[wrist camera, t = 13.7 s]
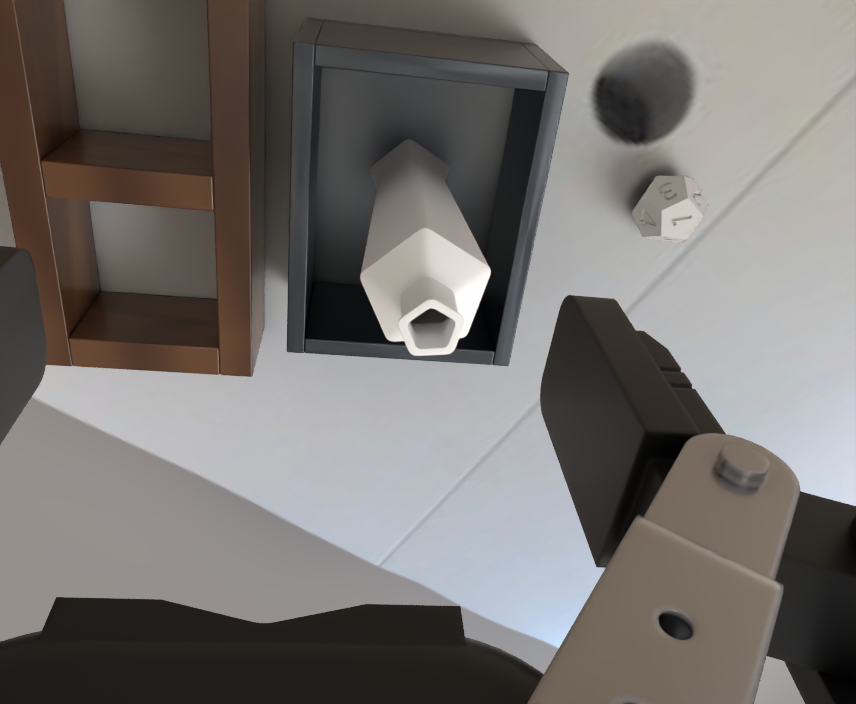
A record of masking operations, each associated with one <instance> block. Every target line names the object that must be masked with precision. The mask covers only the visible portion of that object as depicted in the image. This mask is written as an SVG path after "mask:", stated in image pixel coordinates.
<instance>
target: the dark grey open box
mask: <svg viewBox="0 0 856 704" xmlns="http://www.w3.org/2000/svg"><path fill="white" fill-rule="evenodd" d="M568 75H569V73H568V72H567V71H566V70H565V69H564V68H563V67H561V66H560V65H559V64H558V63H557V62H556V61H555V60H553V59H552V58H551V57H550V56H549V55H548V54H547V53H545V52H544V51H543V50H542V49H541V48H540V47H539V46H537V45H536V44H530V43H521V42H513V41H504V40H496V39H487V38H479V37H470V36H461V35H453V34H444V33H436V32H427V31H419V30H410V29H402V28H393V27H385V26H376V25H367V24H359V23H350V22H342V21H333V20H325V19H316V18H306V20H305V21H304V23H303V25H302V27H301V29H300V31H299V33H298V34H297V36H296V38H295V40H294V42H293V73H292V122H291V171H290V219H289V268H288V317H287V352H295V353H304V352H305V353H315V354H330V355H346V356H362V357H378V358H393V359H409V360H425V361H440V362H456V363H472V364H487V365H492V363H493V365H500V366H508V365H509V362H510V357H511V352H512V347H513V342H514V337H515V333H516V328H517V323H518V318H519V313H520V308H521V303H522V299H523V294H524V289H525V284H526V279H527V274H528V269H529V265H530V260H531V255H532V250H533V245H534V240H535V236H536V231H537V226H538V221H539V216H540V211H541V206H542V202H543V197H544V192H545V187H546V182H547V177H548V172H549V168H550V163H551V158H552V153H553V148H554V143H555V138H556V134H557V129H558V124H559V119H560V114H561V109H562V104H563V100H564V95H565V90H566V85H567V80H568ZM407 139H411V140H413V141H415V142H416V143H418V144H419V145H421V146H422V147H424V148H425V149H426V150H428V151H429V152H431V153H432V154H434V155H435V156H437V157H438V158H440V159H441V160H443V161H444V162H446V163H447V164H448V166H449V171H448V174H447V177H446V180H445V182H446V184H447V186H448V188H449V190H450V192H451V194H452V196H453V198H454V200H455V202H456V204H457V206H458V208H459V209H460V211H461V213H462V215H463V217H464V219H465V221H466V223H467V225H468V227H469V229H470V231H471V233H472V235H473V237H474V239H475V240H476V242H477V244H478V246H479V248H480V250H481V252H482V254H483V256H484V258H485V260H486V262H487V264H488V266H489V268H490V270H491V273H490V277H489V280H488V282H487V285H486V288H485V290H484V293H483V296H482V298H481V301H480V303H479V306H478V309H477V311H476V314H475V317H474V319H473V322H472V324H471V327H470V330H469V332H468V334H467V336H465V337H464V338H459V340H458V343H457V346H456V348H455V350H454V351H453V352H452V353H450V354H446V355H427V356H414V355H412V354H410V352H409V351H408V349H407V346H406V344H405V342H404V341H397V342H394V341H389V340H388V339H387V338H386V337H385V335H384V332H383V330H382V328H381V326H380V323H379V321H378V319H377V316H376V314H375V312H374V310H373V307H372V305H371V303H370V301H369V298H368V296H367V294H366V292H365V289H364V287H363V285H362V282H361V279H360V275H361V270H362V265H363V260H364V255H365V249H366V244H367V239H368V234H369V229H370V223H371V218H372V213H373V208H374V203H375V198H376V192H377V188H376V186H375V183H374V181H373V178H372V175H371V172H370V169H371V167H372V166H373V165H374V164H375V163H377V162H378V161H379V160H381V159H382V158H383V157H384V156H386V155H387V154H388V153H389V152H391V151H392V150H393V149H395V148H396V147H397V146H398V145H400V144H401V143H402V142H403V141H405V140H407Z"/></svg>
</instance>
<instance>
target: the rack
mask: <svg viewBox="0 0 856 704" xmlns="http://www.w3.org/2000/svg"><path fill="white" fill-rule="evenodd" d="M207 21H208V49H209V78H210V106H211V134H212V142H208V141H198V140H187V139H177V138H166V137H156V136H145V135H135V134H125V133H114V132H104V131H93V130H83V129H81V130H80V128H79V120H78V112H77V104H76V97H75V89H74V81H73V73H72V65H71V57H70V49H69V42H68V34H67V26H66V18H65V10H64V2H63V0H0V162H1V168H2V173H3V178H4V184H5V189H6V194H7V200H8V205H9V210H10V216H11V221H12V226H13V232H14V237H15V243H16V248H24V249H26V250H27V251H28V252H29V253H30V255H31V257H32V259H33V263H34V267H35V273H36V279H37V285H38V292H39V298H40V304H41V311H42V317H43V323H44V330H45V336H46V343H47V359H46V365H60V366H72V365H73V366H81V367H98V368H114V369H131V370H148V371H165V372H182V373H198V374H215V375H218V374H221V375H232V376H249V377H251V376H252V375H253V371H254V367H255V363H256V359H257V355H258V351H259V347H260V343H261V339H262V335H263V331H264V295H265V0H207ZM89 200H90V201H101V202H113V203H125V204H137V205H148V206H160V207H172V208H184V209H195V210H207V211H213V210H214V219H215V248H216V276H217V300H212V299H198V298H184V297H170V296H156V295H142V294H128V293H114V292H100V285H99V277H98V270H97V262H96V254H95V246H94V238H93V230H92V222H91V215H90V207H89Z"/></svg>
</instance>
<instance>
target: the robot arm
mask: <svg viewBox="0 0 856 704" xmlns="http://www.w3.org/2000/svg"><path fill="white" fill-rule="evenodd" d="M46 359H47V343H46V336H45V330H44V323H43V317H42V311H41V304H40V298H39V292H38V285H37V279H36V273H35V267H34V263H33V259H32V257H31V255H30V253H29V252H28V251H27V250H26V249H24V248H14V247H2V246H0V444H1V443H2V441H3V440H4V438H5V436H6V435H7V433H8V432H9V430H10V429H11V427H12V425H13V424H14V423H15V421H16V420H17V418H18V417H19V415H20V413H21V412H22V410H23V409H24V407H25V406H26V404H27V403H28V401H29V400H30V398H31V397H32V395H33V394H34V392H35V390H36V389H37V387H38V386H39V384H40V382H41V380H42V378H43V375H44V371H45V366H46ZM540 402H541V411H542V415H543V418H544V421H545V424H546V427H547V430H548V432H549V435H550V438H551V441H552V444H553V446H554V449H555V452H556V455H557V458H558V460H559V463H560V466H561V469H562V472H563V474H564V477H565V480H566V483H567V486H568V488H569V491H570V494H571V497H572V500H573V502H574V505H575V508H576V511H577V514H578V516H579V519H580V522H581V525H582V528H583V530H584V533H585V536H586V539H587V542H588V544H589V547H590V550H591V553H592V556H593V558H594V561H595V564H596V567H606V569H605V570H604V572H603V574H602V576H601V577H600V579H599V581H598V582H597V584H596V586H595V588H594V589H593V591H592V593H591V594H590V596H589V598H588V600H587V601H586V603H585V605H584V606H583V608H582V610H581V612H580V613H579V615H578V617H577V619H576V620H575V622H574V624H573V625H572V627H571V629H570V631H569V632H568V634H567V636H566V637H565V639H564V641H563V643H562V644H561V646H560V648H559V649H558V651H557V653H556V655H555V657H554V658H553V660H552V661H551V663H550V665H549V667H548V668H547V670H546V672H545V673H544V674H543V673H541V672H540V671H538V670H536V669H535V668H534V667H532V666H530V665H529V664H527V663H526V662H524V661H522V660H521V659H519V658H517V657H515V656H513V655H511V654H509V653H507V652H505V651H503V650H501V649H499V648H496V647H493V646H491V645H488V644H485V643H482V642H480V641H477V640H473V639H469V638H466V637H465V636H464V629H463V622H462V615H461V608H460V606H424V605H421V606H420V605H379V604H378V605H377V604H365V605H360V606H355V607H350V608H346V609H340V610H335V611H330V612H325V613H320V614H315V615H309V616H304V617H299V618H295V619H289V620H284V621H279V622H274V623H254V622H250V621H246V620H242V619H238V618H234V617H229V616H226V615H222V614H217V613H213V612H209V611H205V610H201V609H197V608H193V607H189V606H185V605H181V604H177V603H173V602H169V601H164V600H154V599H151V600H149V599H109V598H106V599H105V598H63V597H57V598H56V599H55V602H54V605H53V606H52V609H51V611H50V613H49V616H48V618H47V620H46V623H45V625H44V627H43V630H42V631H40V632H35V633H31V634H26V635H22V636H19V637H15V638H12V639H8V640H5V641H1V642H0V704H754V701H755V697H756V693H757V690H758V686H759V682H760V678H761V674H762V671H763V667H764V663H765V660H766V656H769V657H773V658H776V659H780V660H783V661H785V663H786V666H787V668H788V670H789V672H790V674H791V676H792V678H793V680H794V682H795V684H796V686H797V688H798V690H799V692H800V694H801V696H802V698H803V700H804V702H805V704H856V506H852V505H849V504H845V503H841V502H837V501H833V500H830V499H826V498H822V497H818V496H815V495H811V494H807V493H804V492H801V491H800V485H799V482H798V479H797V477H796V475H795V474H794V473H793V471H792V470H791V469H790V468H789V467H788V465H787V464H786V463H785V462H783V461H782V460H781V459H780V458H779V457H777V456H776V455H775V454H773V453H772V452H770V451H769V450H767V449H765V448H763V447H762V446H759V445H757V444H755V443H753V442H751V441H748V440H745V439H743V438H739V437H736V436H732V435H726V434H725V432H724V431H723V429H722V428H721V426H720V425H719V423H718V422H717V420H716V419H715V418H714V416H713V415H712V413H711V412H710V410H709V409H708V407H707V406H706V404H705V403H704V402H703V400H702V399H701V397H700V396H699V394H698V393H697V391H696V390H695V389H692V384H691V383H690V381H689V380H688V378H687V377H686V375H685V374H684V373H682V372H681V368H680V366H679V365H678V364H677V362H676V361H675V359H674V358H673V356H672V355H671V353H670V352H669V350H668V349H667V348H665V347H664V346H663V345H661V344H660V343H659V342H657V341H656V340H655V339H653V338H652V337H651V336H649V335H648V334H647V333H645V332H644V331H635V329H634V327H633V326H632V324H631V323H630V321H629V320H628V318H627V316H626V315H625V313H624V312H623V310H622V309H621V307H620V306H619V304H618V302H617V301H616V300H614V299H608V298H596V297H584V296H572V295H568V296H567V297H566V298H565V299H564V300H563V302H562V305H561V307H560V311H559V314H558V318H557V322H556V326H555V330H554V334H553V338H552V342H551V346H550V349H549V353H548V357H547V361H546V365H545V369H544V373H543V377H542V382H541V393H540Z"/></svg>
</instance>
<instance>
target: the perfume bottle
mask: <svg viewBox="0 0 856 704" xmlns="http://www.w3.org/2000/svg"><path fill="white" fill-rule="evenodd" d="M448 171H449V166H448V164H447V163H446V162H444V161H443V160H441V159H440V158H438V157H437V156H435V155H434V154H432V153H431V152H429V151H428V150H426V149H425V148H424V147H422V146H421V145H419V144H418V143H416V142H415V141H413V140H411V139H407V140H405V141H403V142H402V143H401V144H400V145H398V146H397V147H396V148H395V149H393V150H392V151H391V152H389V153H388V154H387V155H386V156H384V157H383V158H382V159H381V160H379V161H378V162H377V163H375V164H374V165H373V166H372V167H371V169H370V172H371V175H372V178H373V181H374V183H375V186H376V188H377V192H376V198H375V203H374V208H373V213H372V218H371V223H370V229H369V234H368V239H367V244H366V249H365V255H364V260H363V265H362V270H361V275H360V279H361V282H362V285H363V287H364V289H365V292H366V294H367V296H368V298H369V301H370V303H371V305H372V307H373V310H374V312H375V314H376V316H377V319H378V321H379V323H380V326H381V328H382V330H383V332H384V335H385V337H386V338H387V339H388V340H389V341H394V342H397V341H404V342H405V344H406V346H407V349H408V351H409V352H410V354H412V355H414V356H427V355H446V354H450V353H452V352H453V351H454V350H455V348H456V346H457V343H458V340H459V338H464V337H465V336H467V334H468V332H469V330H470V327H471V324H472V322H473V319H474V317H475V314H476V311H477V309H478V306H479V303H480V301H481V298H482V296H483V293H484V290H485V288H486V285H487V282H488V280H489V277H490V273H491V270H490V268H489V266H488V264H487V262H486V260H485V258H484V256H483V254H482V252H481V250H480V248H479V246H478V244H477V242H476V240H475V239H474V237H473V235H472V233H471V231H470V229H469V227H468V225H467V223H466V221H465V219H464V217H463V215H462V213H461V211H460V209H459V208H458V206H457V204H456V202H455V200H454V198H453V196H452V194H451V192H450V190H449V188H448V186H447V184H446V182H445V180H446V177H447V174H448Z"/></svg>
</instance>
